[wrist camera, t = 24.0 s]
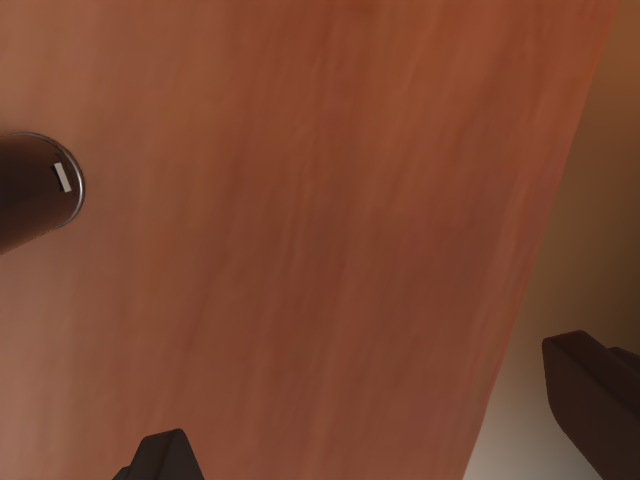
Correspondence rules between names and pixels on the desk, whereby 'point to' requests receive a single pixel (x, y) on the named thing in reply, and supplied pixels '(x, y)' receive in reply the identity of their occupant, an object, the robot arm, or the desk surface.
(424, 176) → the desk surface
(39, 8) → the desk surface
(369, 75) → the desk surface
